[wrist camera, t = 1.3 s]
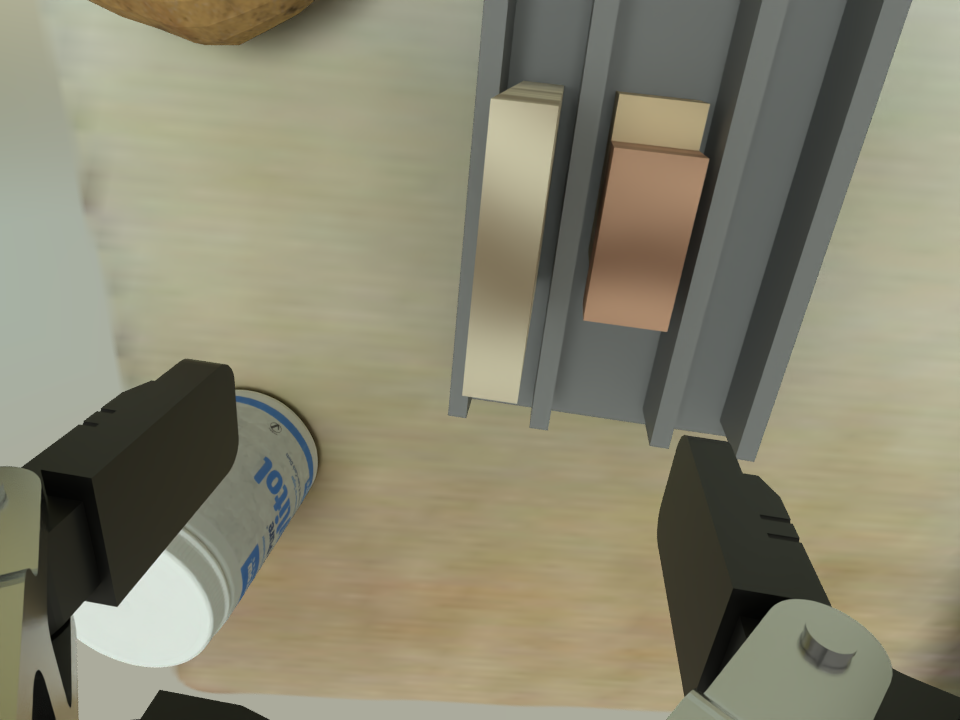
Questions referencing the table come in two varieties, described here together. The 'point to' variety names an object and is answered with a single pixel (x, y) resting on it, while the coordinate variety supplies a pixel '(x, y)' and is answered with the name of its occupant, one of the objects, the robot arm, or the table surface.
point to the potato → (208, 17)
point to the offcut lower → (653, 127)
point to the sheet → (510, 236)
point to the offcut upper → (642, 234)
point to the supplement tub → (212, 546)
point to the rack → (723, 202)
